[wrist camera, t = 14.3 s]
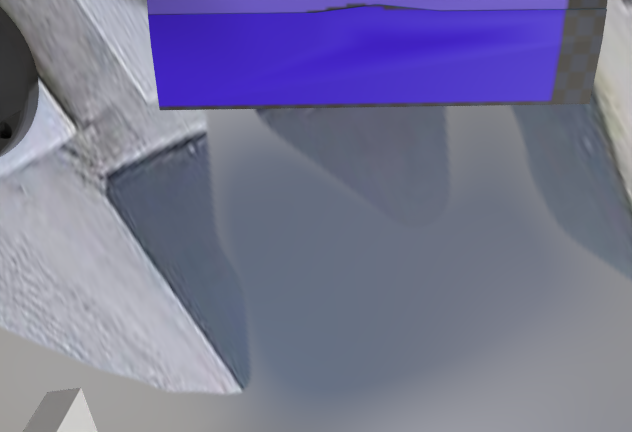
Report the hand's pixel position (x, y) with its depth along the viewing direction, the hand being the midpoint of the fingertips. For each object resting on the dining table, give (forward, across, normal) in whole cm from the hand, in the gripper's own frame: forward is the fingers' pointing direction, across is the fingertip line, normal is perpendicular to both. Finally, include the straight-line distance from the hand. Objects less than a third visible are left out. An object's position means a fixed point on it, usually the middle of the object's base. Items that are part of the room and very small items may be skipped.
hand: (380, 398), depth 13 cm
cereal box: (+37, +2, +6) cm, 37 cm away
